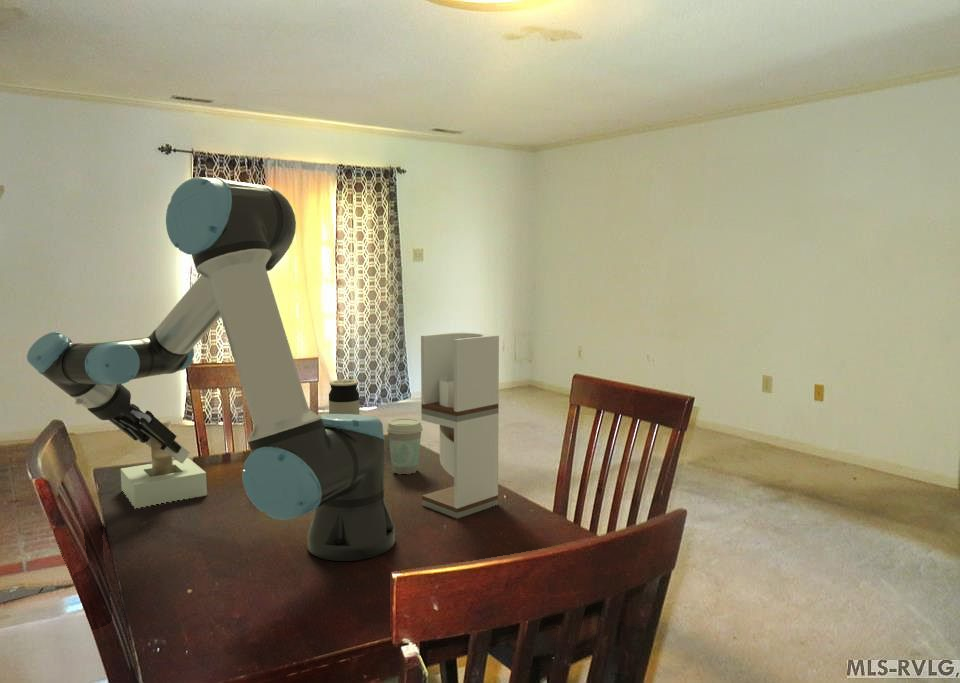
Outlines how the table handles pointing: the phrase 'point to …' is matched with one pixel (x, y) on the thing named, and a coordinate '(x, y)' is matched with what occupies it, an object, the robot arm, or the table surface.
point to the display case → (463, 417)
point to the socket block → (163, 484)
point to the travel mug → (344, 397)
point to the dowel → (161, 456)
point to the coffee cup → (404, 444)
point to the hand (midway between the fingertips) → (177, 456)
